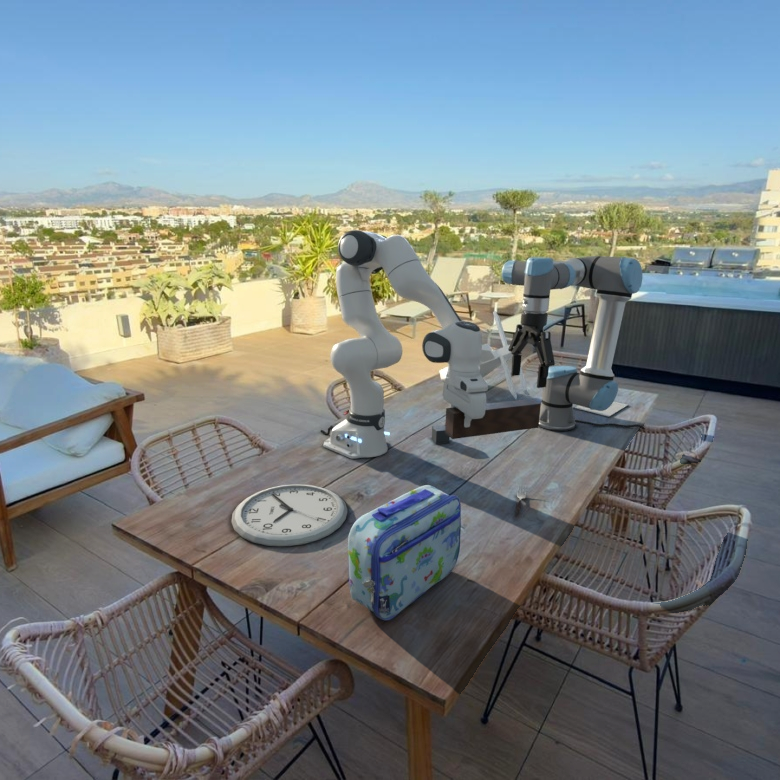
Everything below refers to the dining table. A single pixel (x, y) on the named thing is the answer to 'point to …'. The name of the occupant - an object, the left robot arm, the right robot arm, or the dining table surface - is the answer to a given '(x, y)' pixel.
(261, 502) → the wall clock
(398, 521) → the lunch box
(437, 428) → the slate block
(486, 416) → the plank
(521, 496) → the fork
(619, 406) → the invitation card
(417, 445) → the dining table surface
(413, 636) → the dining table surface
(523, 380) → the white plastic object
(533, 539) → the dining table surface
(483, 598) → the dining table surface
